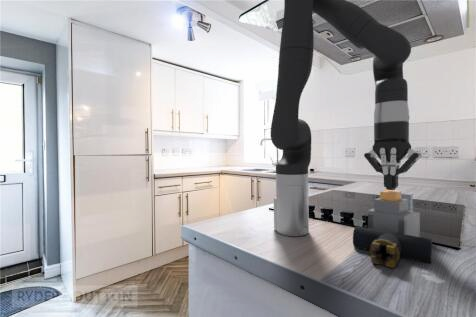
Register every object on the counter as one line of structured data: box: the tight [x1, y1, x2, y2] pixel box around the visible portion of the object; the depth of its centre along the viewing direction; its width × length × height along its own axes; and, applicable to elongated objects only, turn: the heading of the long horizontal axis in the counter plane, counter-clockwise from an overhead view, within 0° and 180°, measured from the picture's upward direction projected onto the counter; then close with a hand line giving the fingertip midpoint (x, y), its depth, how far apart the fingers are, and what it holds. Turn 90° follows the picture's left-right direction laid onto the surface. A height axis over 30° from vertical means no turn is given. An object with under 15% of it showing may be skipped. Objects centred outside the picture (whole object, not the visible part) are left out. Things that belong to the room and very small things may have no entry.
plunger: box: [379, 189, 402, 202], centre depth 64 cm, size 4×4×3 cm
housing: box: [367, 197, 421, 237], centre depth 66 cm, size 8×12×11 cm
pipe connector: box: [352, 226, 433, 269], centre depth 56 cm, size 12×5×15 cm
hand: (391, 189), depth 64 cm, fingers closed
